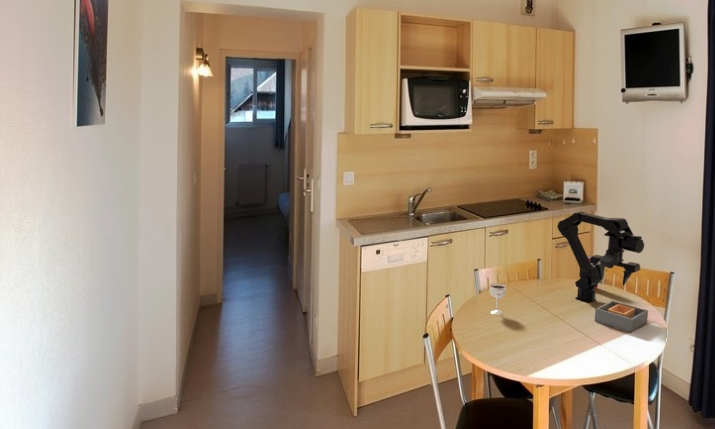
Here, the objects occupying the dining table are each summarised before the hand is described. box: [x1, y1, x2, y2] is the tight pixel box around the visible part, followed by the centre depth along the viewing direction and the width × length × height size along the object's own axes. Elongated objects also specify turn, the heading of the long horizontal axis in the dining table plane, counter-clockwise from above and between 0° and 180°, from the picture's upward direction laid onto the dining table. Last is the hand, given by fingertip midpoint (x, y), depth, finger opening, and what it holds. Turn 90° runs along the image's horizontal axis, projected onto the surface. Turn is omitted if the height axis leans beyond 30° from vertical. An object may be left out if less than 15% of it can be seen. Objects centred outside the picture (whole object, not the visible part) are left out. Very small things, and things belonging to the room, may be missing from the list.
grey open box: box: [594, 300, 649, 334], centre depth 184 cm, size 14×14×6 cm
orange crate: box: [608, 304, 635, 318], centre depth 184 cm, size 6×9×5 cm
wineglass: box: [489, 283, 507, 316], centre depth 196 cm, size 7×7×12 cm
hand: (612, 282), depth 197 cm, fingers open, 9 cm apart
